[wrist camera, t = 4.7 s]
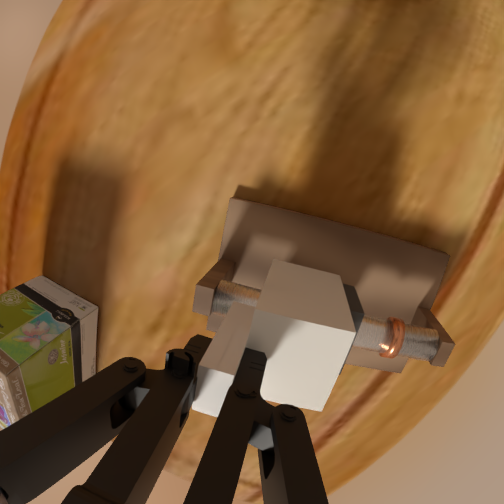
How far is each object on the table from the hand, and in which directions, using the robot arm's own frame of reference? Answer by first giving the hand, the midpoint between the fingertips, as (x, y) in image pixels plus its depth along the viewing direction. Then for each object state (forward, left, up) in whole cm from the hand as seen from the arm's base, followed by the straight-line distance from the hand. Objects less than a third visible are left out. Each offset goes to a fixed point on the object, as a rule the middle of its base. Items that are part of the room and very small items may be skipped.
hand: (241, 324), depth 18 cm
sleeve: (0, +3, -6) cm, 7 cm away
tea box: (+15, -22, -9) cm, 28 cm away
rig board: (0, +6, -9) cm, 11 cm away
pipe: (0, +6, -4) cm, 7 cm away
